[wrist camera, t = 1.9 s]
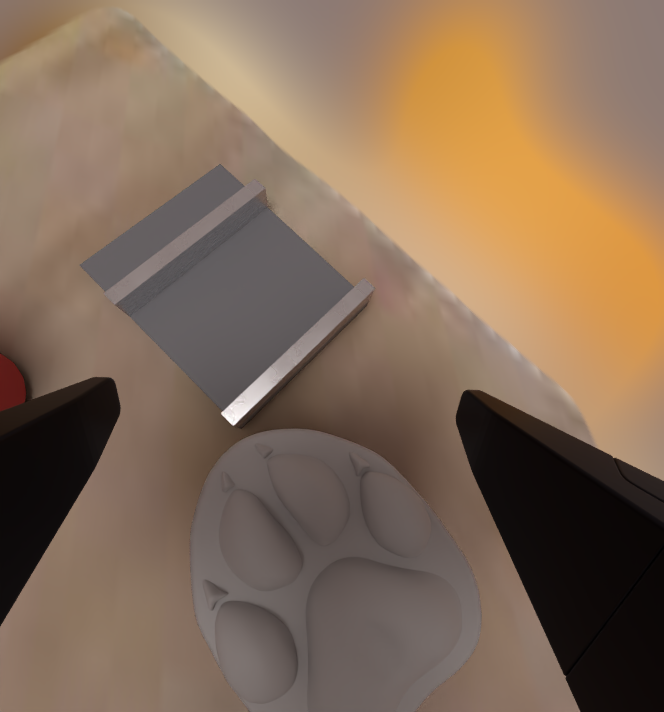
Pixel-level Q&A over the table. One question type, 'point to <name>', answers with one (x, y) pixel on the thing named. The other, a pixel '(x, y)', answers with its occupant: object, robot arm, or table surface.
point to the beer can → (10, 384)
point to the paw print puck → (327, 578)
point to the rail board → (227, 291)
